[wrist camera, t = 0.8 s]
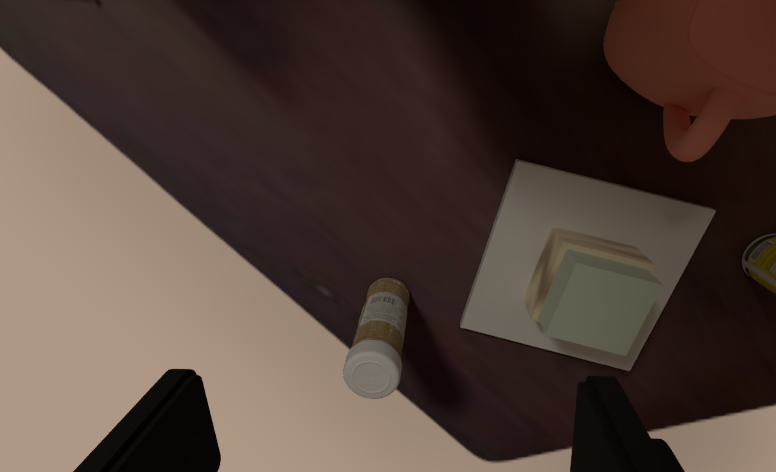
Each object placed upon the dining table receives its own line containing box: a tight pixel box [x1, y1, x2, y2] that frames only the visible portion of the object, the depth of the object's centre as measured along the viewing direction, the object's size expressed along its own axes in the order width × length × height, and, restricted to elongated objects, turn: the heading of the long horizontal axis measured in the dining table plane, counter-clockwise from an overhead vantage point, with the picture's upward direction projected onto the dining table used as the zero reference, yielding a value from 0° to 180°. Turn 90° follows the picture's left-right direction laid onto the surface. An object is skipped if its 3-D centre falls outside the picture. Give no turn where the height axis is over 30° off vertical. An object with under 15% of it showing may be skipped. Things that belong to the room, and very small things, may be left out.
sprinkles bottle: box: [343, 278, 410, 399], centre depth 41 cm, size 5×5×14 cm
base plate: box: [460, 159, 716, 371], centre depth 44 cm, size 18×18×1 cm
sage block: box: [538, 248, 663, 356], centre depth 38 cm, size 7×7×3 cm
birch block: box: [523, 226, 655, 322], centre depth 41 cm, size 8×8×4 cm
